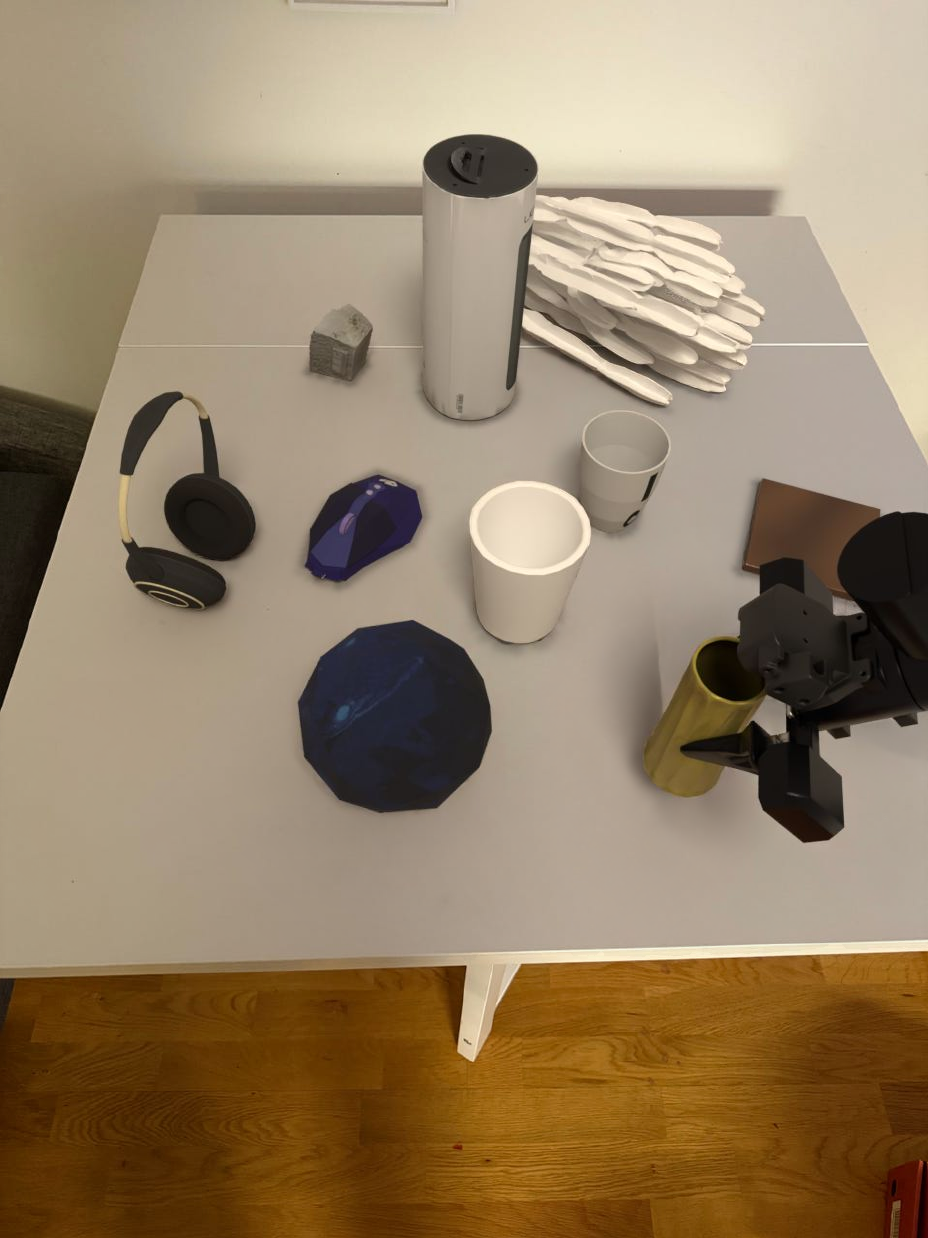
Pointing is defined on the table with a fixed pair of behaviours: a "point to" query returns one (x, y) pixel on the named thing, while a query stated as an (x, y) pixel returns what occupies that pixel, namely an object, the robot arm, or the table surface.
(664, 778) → the vase
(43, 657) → the table surface
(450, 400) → the speaker
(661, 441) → the cup
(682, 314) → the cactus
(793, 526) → the serving board
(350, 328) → the grey stone block
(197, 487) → the headphones
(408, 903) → the table surface
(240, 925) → the table surface
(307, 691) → the decorative orb
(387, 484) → the computer mouse
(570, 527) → the cup
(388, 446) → the table surface
